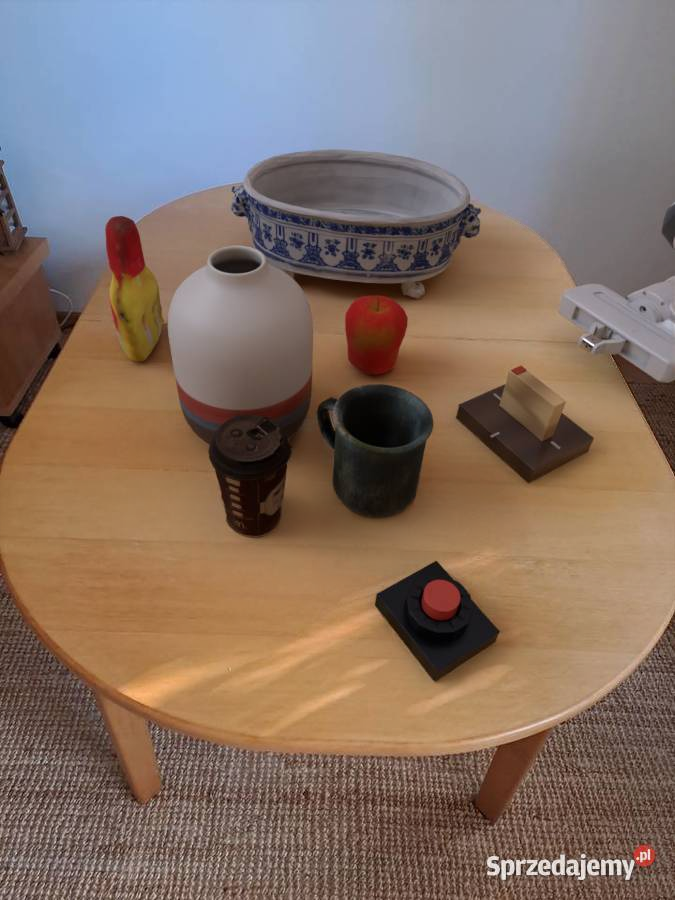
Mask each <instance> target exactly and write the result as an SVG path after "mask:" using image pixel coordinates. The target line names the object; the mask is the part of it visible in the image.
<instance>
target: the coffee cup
mask: <svg viewBox="0 0 675 900" xmlns="http://www.w3.org/2000/svg"><path fill="white" fill-rule="evenodd" d="M292 449H293V445H292V444H291V441H290V440H289V439H288V437H287V436H284V435H283V434H281V431H280V428H279V427H277V422H276V421H275V420H273V419H269V417H267V416H253V415H246V414H244V415H235V416H233V417H231V418H229V419H228V420H226V421H225V422H224V423H222V424H221V425H220V426H219V428H218V429H217V430H216V433H215V435H214V436H213V438H212V439H211V442H210V444H209V447H208V459H209V460H210V464H211V465H212V468H213V469H214V472H215V476H216V479H217V483H218V487H219V491H220V498H221V500H222V503H223V506H224V513H225V516H226V517H225V522H226V524H227V525H228V527H229V528H230V529H231V530H232V531H234V532H236V533H237V534H239V535H240V536H244V537H249V538H259V537H262V536H265V535H267V534H269V533H271V532H272V531H273V530H275V529H276V528H277V526H278V525H279V523H280V520H281V516H282V504H283V501H284V496H285V488H286V481H287V480H286V479H287V471H288V470H287V469H288V462H289V461H290V458H291V456H292Z"/></svg>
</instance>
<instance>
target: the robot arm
mask: <svg viewBox="0 0 675 900" xmlns="http://www.w3.org/2000/svg"><path fill="white" fill-rule="evenodd" d="M661 234H662V236H663V238H665V240H666V241H667V243H668V244H669V245H670V247H671V248H672V249H673V250H674V251H675V201H674V202H673V203H672V204H671V205H670V207H668V208H667V209H666V212H665V215H664V218H663V221H662V227H661ZM557 313H558V314H559V315H560V316H561V317H562V318H564V319H566V320H567V321H569V322H570V323H572V324H573V325H574V326H576V327H578V328H579V329H581V330H582V331H583V332H585V333H583V334H582V335H581V336H580V337H579V339H578V341H577V346H578V347H579V348H581V349H582V350H584V351H585V352H587V354H589V355H591V356H592V357H596V356H598V355H600V354H601V355H619V356H620V357H622V358H623V359H625V360H626V361H628V362H629V363H631V364H632V365H634V366H635V367H637V369H639V370H641V371H642V372H644V373H645V374H647V375H648V376H650V377H651V378H653V379H654V380H656V381H657V382H659V383H667V384H669V383H671V382H673V381H675V275H673V276H670V277H668V278H667V279H666V280H664V281H659V282H656V283H653V284H650V285H648V286H646V287H643V288H641V289H638V290H636V291H633V292H631V293H629V294H628V295H627V296H626V297H624V296H622V295H621V294H619V293H617V292H615V291H614V290H613V289H610V288H609V287H607V286H606V285H603V284H601V283H586V284H582V285H578V286H574V287H571V288H568V289H566V290H564V291H563V292H562V294H561V297H560V299H559V302H558V306H557Z"/></svg>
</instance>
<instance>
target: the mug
mask: <svg viewBox="0 0 675 900" xmlns="http://www.w3.org/2000/svg"><path fill="white" fill-rule="evenodd" d="M330 411H331V412H332V418H331V415H330ZM316 418H317V419H316V420H317V425H318V428H319V431H320V434H321V436H322V438H323V440H324V441H325V443H326V444H327V446H329V447H330V448H331V449H332V450H333V465H332V466H333V467H332V488H333V491H334V493H335V495H336V497H337V498H338V499H339V501H341V502H342V504H343V505H344V506H345V507H347V508H348V509H350V510H351V511H353V512H355V513H356V514H360V515H362V516H366V517H372V518H386V517H390V516H394V515H397V514H399V513H401V512H403V511H404V510H406V509H407V508H408V507H410V506H411V505H412V503H413V502H414V500H415V499H416V495H417V491H418V485H419V481H420V476H421V471H422V466H423V462H424V455H425V450H426V445H427V440H428V439H430V436H431V435H432V433H433V430H434V422H435V421H434V416H433V414H432V411H431V409H430V407H429V406H428V405H427V404H426V403H425V401H424V400H423V399H421V398H420V397H419V396H418V395H416V394H414V393H413V392H411V391H409V390H408V389H405V388H401V387H399V386H395V385H391V384H384V383H369V384H363V385H358V386H355V387H353V388H351V389H349V390H346V392H344V393H343V394H341V395H340V396H339V397H338V398H335V397H333V396H330V397H328V398H327V399H325V400H323V401H321V402H320V403H319V405H317V410H316ZM331 419H332V420H333V422H332V420H331ZM334 426H335V428H334Z"/></svg>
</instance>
